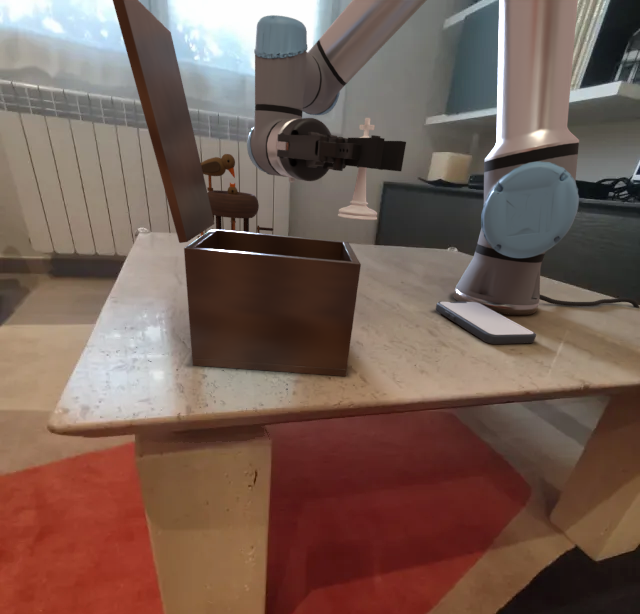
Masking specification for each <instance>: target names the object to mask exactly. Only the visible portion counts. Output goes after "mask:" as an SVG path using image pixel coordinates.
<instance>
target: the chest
mask: <svg viewBox="0 0 640 614" xmlns="http://www.w3.org/2000/svg"><path fill="white" fill-rule="evenodd" d="M200 236H201V235H200ZM183 253H184V267H185V281H186V294H187V306H188V308H187V309H188V321H189V335H190V348H191V349H190V350H191V363H192V366H199V367H209V368H211V367H212V368H227V369H238V370H251V371H252V370H253V371H268V372H282V373H296V374H311V375H323V376H324V375H325V376H335V377H336V376H337V377H338V376H339V377H346V376H347V370H348V363H349V356H350V348H351V347H350V346H351V340H352V333H353V325H354V317H355V312H356V311H355V310H356V302H357V298H358V297H357V295H358V288H359V282H360V274H361V266H362V263H361V262H360V260H359V258H358V256H357V255H356V254H355V251H354V250H353V248H352V246H351V244H350V241H343V240H333V239H323V238H322V239H321V238H314V237H313V238H312V237H302V236H290V235H279V234H269V233H261V232H260V233H257V232H250V231H249V232H244V231H239V230H235V231H231V230H228V229H222V230H218V229H216V228H213V229H212V228H211V229H210V230H208V231H207V232H206V233H204V235H202V236H201V237H200V238H198V239H197V238H196V239H195V240H194V241H192V242H191V243H189V244H188V245H185V246H184V247H183Z"/></svg>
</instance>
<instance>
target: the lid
mask: <svg viewBox="0 0 640 614" xmlns="http://www.w3.org/2000/svg"><path fill="white" fill-rule="evenodd" d="M112 3H113V8H114V10H115V15H116V18H117V21H118V25H119V29H120V32H121V37H122V39H123V43H124V47H125V50H126V54H127V57H128V62H129V65H130V68H131V69H130V70H131V72H132V76H133V79H134V84H135V87H136V90H137V94H138V97H139V102H140V105H141V109H142V112H143V116H144V121H145V123H146V127H147V132H148V135H149V138H150V142H151V146H152V149H153V152H154V156H155V160H156V164H157V167H158V171H159V174H160V178H161V182H162V185H163V189H164V192H165V196H166V200H167V204H168V207H169V211H170V215H171V217H172V221H173V226H174V229H175V232H176V236H177V240H178V243H179V244H182V243H189V241H191V240H193V239H194V238H195V237H198V236H200V235H201V233H202V232H203V233H204V232H205V231H206V230H208V229H209V228H211V227H213V226H214V225H215V218H214V219H213V215H212V210H211V206H210V202H209V197H208V190H207V184H206V180H205V174H203V171H202V167H201V163H202V161H201V159H200V153H199V150H198V149H199V148H198V146H197V140H196V137H195V131H194V128H193V127H194V126H193V124H192V119H191V115H190V110H189V106H188V102H187V98H186V93H185V88H184V83H183V80H182V75H181V71H180V66H179V63H178V62H179V61H178V58H177V54H176V49H175V45H174V41H173V36H172V32H171V30H170V29H168V28H167V27H166V26H165V25H164V23H162V22H161V21H160V20H159V19H158V18H157V17H156V16H155V15H154V14H153V13H152V12H151V11H150V10H149V9H148V8H147V7H146V6H145V5H144V4H143V3H142V2H141V1H139V0H112Z"/></svg>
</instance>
